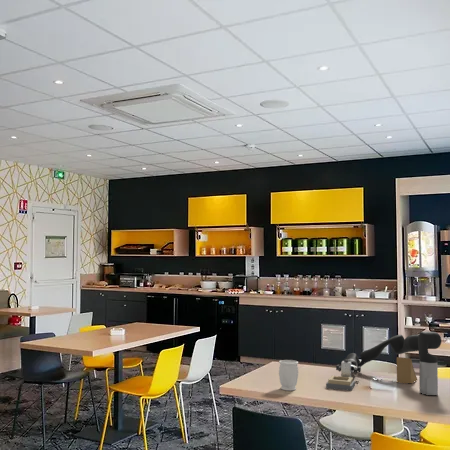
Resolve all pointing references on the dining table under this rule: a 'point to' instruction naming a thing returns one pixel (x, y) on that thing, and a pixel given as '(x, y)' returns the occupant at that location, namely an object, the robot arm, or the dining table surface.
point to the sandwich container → (405, 370)
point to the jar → (288, 374)
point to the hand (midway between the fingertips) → (347, 370)
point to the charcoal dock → (342, 387)
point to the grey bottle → (346, 368)
